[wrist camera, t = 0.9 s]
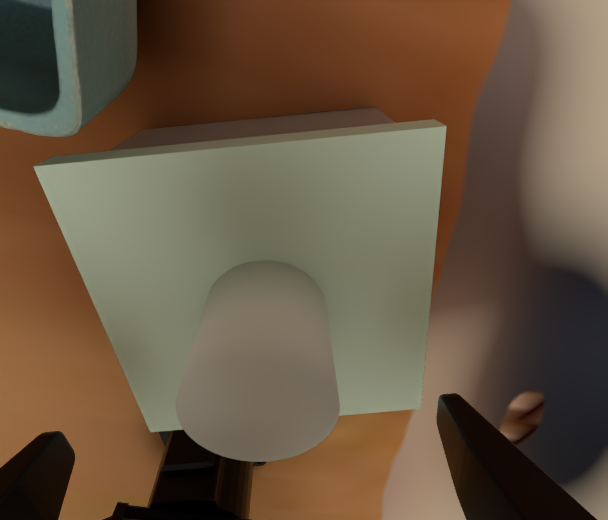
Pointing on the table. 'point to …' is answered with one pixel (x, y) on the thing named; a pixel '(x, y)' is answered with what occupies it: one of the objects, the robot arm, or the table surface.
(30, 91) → the flower pot
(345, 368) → the lid
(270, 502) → the table surface
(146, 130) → the storage box
